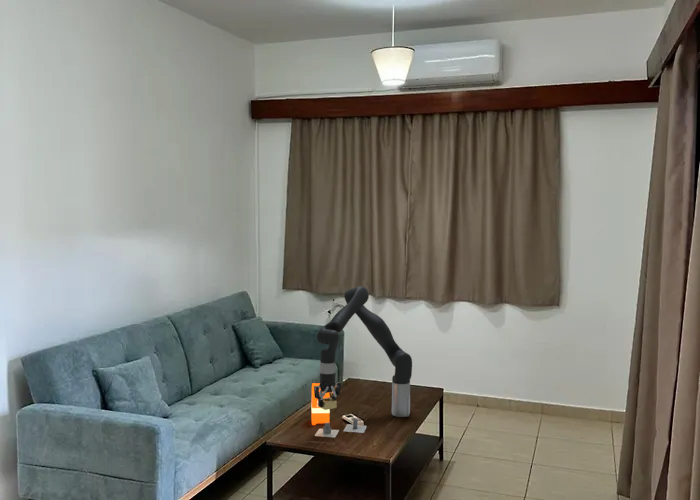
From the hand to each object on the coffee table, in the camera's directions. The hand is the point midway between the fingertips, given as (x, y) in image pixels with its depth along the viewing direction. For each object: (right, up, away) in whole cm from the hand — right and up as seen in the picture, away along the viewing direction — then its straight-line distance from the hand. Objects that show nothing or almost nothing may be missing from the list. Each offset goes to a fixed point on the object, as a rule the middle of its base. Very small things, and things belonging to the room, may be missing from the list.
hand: (327, 405), depth 314 cm
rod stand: (+13, -14, +8) cm, 21 cm away
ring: (0, -1, 0) cm, 1 cm away
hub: (0, -14, +1) cm, 14 cm away
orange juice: (-4, -13, +18) cm, 22 cm away
